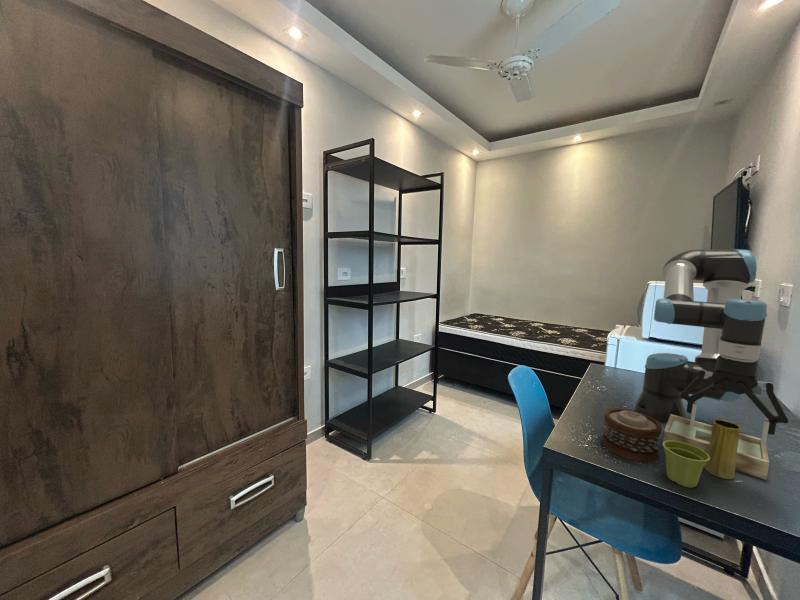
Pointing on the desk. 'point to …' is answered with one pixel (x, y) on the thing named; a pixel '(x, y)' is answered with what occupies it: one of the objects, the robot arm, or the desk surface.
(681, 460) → the plant pot
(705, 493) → the desk surface
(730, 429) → the vase
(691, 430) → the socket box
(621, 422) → the spiked roller
